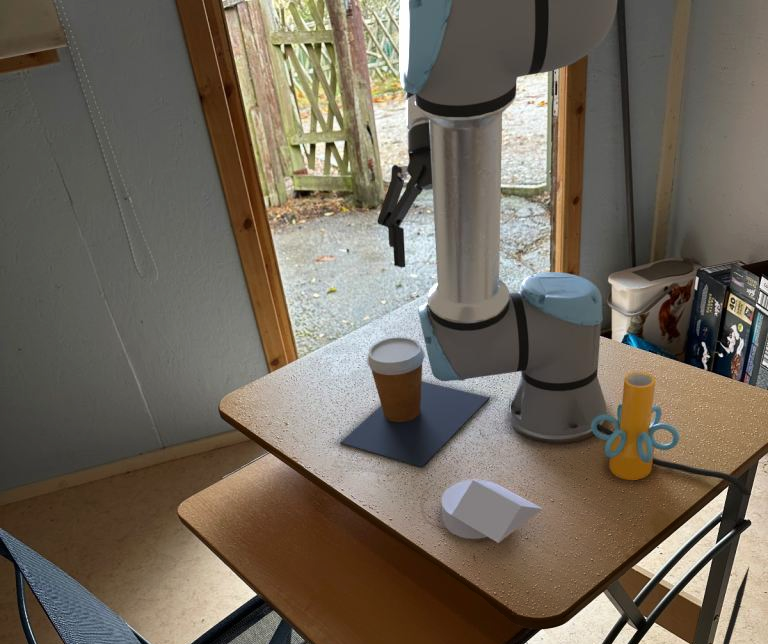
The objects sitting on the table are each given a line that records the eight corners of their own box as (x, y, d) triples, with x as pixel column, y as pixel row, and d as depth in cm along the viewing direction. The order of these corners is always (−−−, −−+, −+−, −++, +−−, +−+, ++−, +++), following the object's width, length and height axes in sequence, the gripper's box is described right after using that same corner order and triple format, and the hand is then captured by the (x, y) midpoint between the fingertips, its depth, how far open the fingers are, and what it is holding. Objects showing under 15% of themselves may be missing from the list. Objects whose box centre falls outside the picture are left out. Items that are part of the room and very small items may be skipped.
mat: (489, 398, 133) (489, 397, 133) (422, 468, 120) (422, 467, 120) (411, 379, 141) (411, 378, 141) (340, 443, 128) (339, 442, 128)
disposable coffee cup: (421, 430, 128) (415, 365, 120) (367, 425, 130) (357, 362, 123) (435, 399, 134) (430, 336, 127) (383, 396, 137) (375, 334, 130)
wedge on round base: (542, 527, 106) (473, 489, 114) (543, 489, 102) (471, 452, 110) (498, 561, 102) (430, 519, 110) (497, 523, 98) (426, 482, 106)
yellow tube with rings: (582, 451, 119) (587, 364, 109) (648, 440, 119) (659, 352, 109) (609, 499, 109) (617, 409, 100) (681, 487, 109) (696, 396, 100)
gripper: (509, 117, 125) (513, 252, 128) (375, 151, 138) (382, 273, 140) (492, 102, 119) (496, 245, 121) (353, 138, 131) (360, 267, 134)
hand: (435, 260), depth 131 cm, fingers open, 13 cm apart
